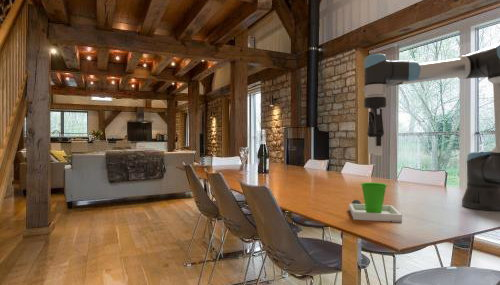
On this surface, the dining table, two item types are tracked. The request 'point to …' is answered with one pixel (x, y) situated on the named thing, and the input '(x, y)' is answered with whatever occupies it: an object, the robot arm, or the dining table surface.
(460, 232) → the dining table surface
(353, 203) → the ball
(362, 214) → the tray
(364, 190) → the cup
